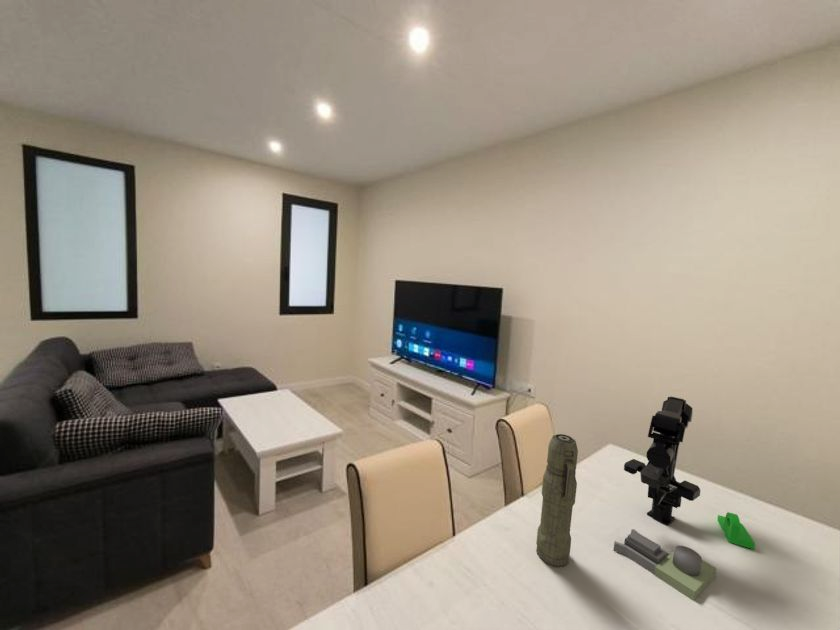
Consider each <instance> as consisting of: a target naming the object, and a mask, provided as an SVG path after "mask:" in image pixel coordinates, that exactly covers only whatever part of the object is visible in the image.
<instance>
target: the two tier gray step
mask: <svg viewBox="0 0 840 630" xmlns="http://www.w3.org/2000/svg"><path fill="white" fill-rule="evenodd" d="M636 531H637V530H636ZM636 531H634V532H632V533H631V532H630V533H629V534H628V535H627V537H625V538H624V543H623V544H624V545H626V546H628V547H630V548H632V549H633V550H635V551H636V552H638V553H640V554H641V555H643V556H644V557H646V558H648V559H649V560H651V561H652V562H654V563H656V564H657V565H658V564H659V563H660V562H661V561H662V560H664V559H665V558H666V555H667V552H665V551H663V550H661V549H660V547H661V545H660V544H658V543H656V542H655V541H653V540H651V539H649V538H648V537H647V536H645V535H643V534H641V533H639V532H638V531H637V532H636Z"/></svg>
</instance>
